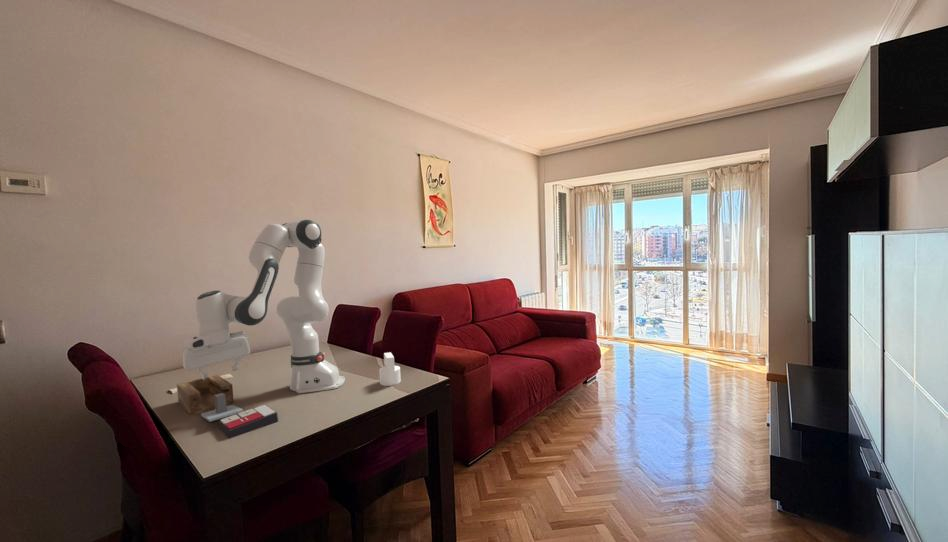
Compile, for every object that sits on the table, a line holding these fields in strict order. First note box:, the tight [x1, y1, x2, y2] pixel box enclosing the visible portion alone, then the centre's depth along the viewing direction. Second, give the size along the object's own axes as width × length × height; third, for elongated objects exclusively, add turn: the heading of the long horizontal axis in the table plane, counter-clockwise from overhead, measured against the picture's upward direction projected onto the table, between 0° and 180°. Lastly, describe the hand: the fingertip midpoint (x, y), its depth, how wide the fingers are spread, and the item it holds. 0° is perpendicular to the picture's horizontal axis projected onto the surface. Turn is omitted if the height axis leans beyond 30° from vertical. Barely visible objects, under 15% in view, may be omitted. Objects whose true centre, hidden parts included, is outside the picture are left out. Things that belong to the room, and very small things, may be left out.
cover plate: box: [200, 393, 245, 422], centre depth 138 cm, size 10×18×7 cm, turn 44°
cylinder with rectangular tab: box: [378, 351, 402, 387], centre depth 168 cm, size 9×9×12 cm
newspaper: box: [167, 373, 234, 395], centre depth 176 cm, size 24×7×2 cm, turn 144°
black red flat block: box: [218, 404, 279, 439], centre depth 132 cm, size 11×4×15 cm
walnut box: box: [176, 374, 235, 416], centre depth 153 cm, size 14×20×8 cm
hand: (220, 374), depth 139 cm, fingers open, 8 cm apart
